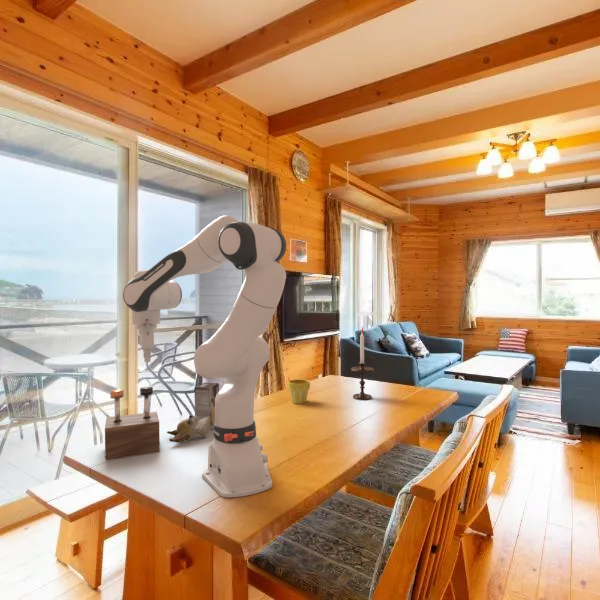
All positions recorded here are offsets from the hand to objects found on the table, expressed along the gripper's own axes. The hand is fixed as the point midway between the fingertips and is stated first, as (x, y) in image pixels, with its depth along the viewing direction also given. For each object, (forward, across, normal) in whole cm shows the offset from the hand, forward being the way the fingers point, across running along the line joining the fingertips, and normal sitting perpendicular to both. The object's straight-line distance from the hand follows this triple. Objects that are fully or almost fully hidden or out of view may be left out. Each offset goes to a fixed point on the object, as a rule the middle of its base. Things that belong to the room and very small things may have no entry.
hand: (146, 359), depth 136 cm
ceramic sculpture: (+30, +2, -14) cm, 33 cm away
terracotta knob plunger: (+23, 0, +9) cm, 24 cm away
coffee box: (+30, +13, -22) cm, 39 cm away
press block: (+30, 0, +5) cm, 30 cm away
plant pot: (+30, +30, -68) cm, 80 cm away
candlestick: (+30, +24, -99) cm, 106 cm away
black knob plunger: (+23, 0, 0) cm, 23 cm away
